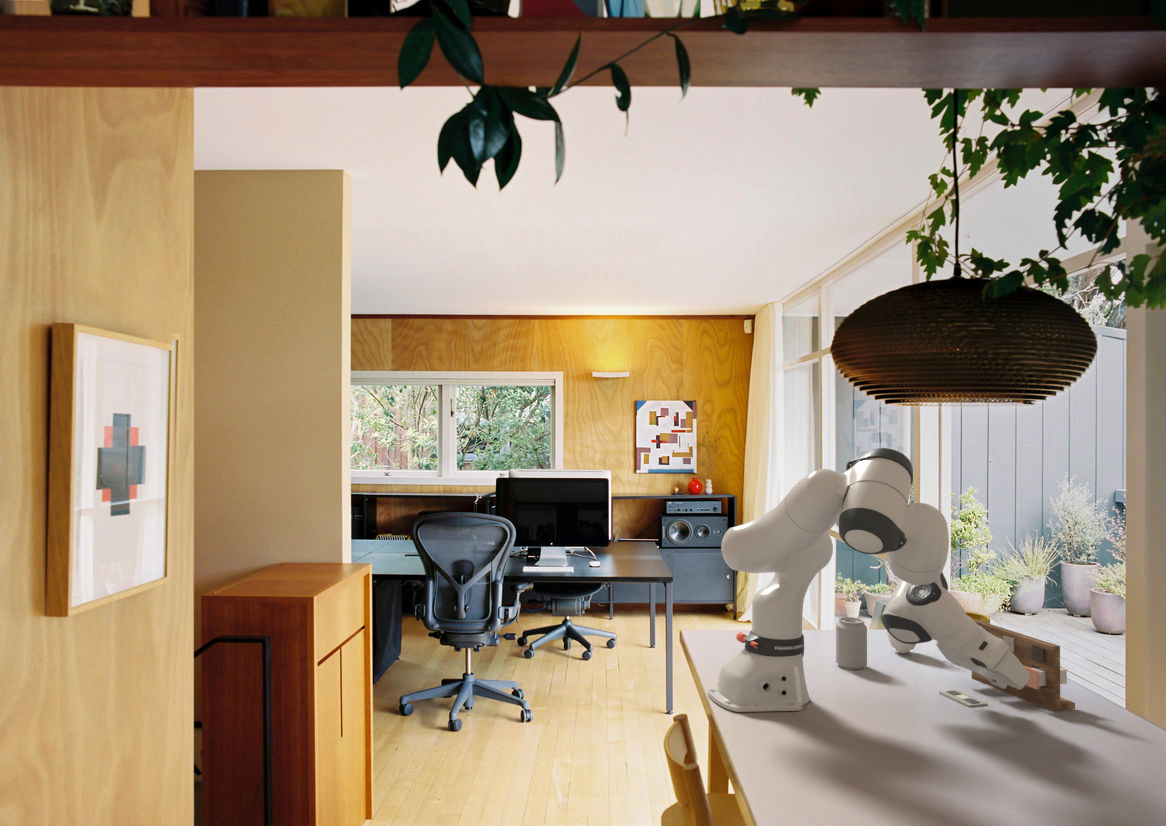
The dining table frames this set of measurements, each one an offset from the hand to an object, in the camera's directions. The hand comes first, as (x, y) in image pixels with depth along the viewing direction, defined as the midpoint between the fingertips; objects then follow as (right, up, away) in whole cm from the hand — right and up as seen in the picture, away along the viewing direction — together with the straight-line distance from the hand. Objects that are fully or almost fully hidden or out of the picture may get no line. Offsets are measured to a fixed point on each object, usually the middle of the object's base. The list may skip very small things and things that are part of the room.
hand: (1001, 684), depth 165 cm
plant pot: (+15, -7, +44) cm, 47 cm away
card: (-5, -6, +6) cm, 10 cm away
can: (-22, -6, +30) cm, 37 cm away
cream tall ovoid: (-4, -7, +42) cm, 43 cm away
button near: (+11, -1, +3) cm, 11 cm away
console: (+10, -6, +11) cm, 16 cm away
